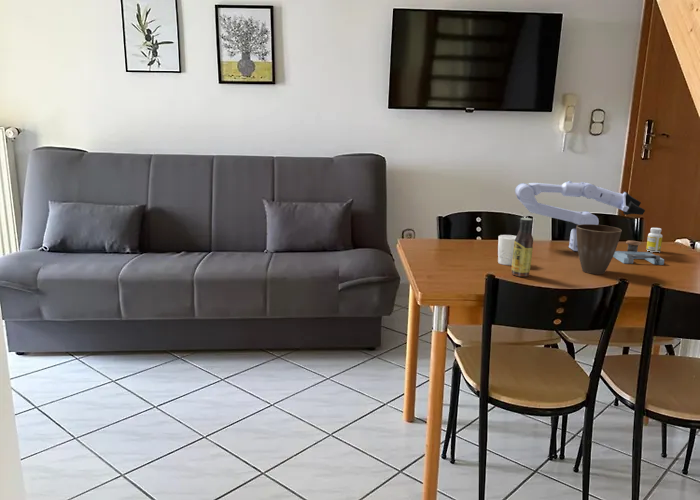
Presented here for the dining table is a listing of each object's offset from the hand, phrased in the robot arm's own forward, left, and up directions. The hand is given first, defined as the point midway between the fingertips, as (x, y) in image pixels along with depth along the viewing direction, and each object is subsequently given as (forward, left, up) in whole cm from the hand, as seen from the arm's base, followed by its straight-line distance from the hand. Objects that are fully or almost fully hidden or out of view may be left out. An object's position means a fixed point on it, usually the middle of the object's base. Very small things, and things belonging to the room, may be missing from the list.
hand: (641, 208), depth 248 cm
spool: (-3, -4, -18) cm, 19 cm away
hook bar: (-5, -20, -18) cm, 27 cm away
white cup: (-58, -27, -19) cm, 67 cm away
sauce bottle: (-57, -44, -19) cm, 75 cm away
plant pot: (-29, -35, -19) cm, 50 cm away
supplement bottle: (+9, +4, -19) cm, 21 cm away
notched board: (-5, -13, -18) cm, 23 cm away
